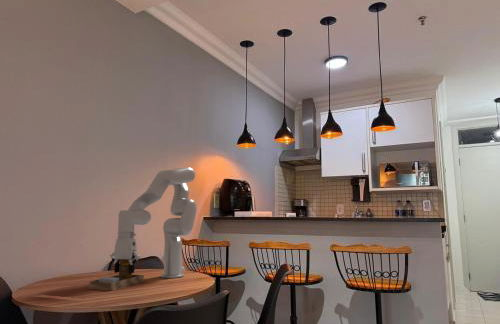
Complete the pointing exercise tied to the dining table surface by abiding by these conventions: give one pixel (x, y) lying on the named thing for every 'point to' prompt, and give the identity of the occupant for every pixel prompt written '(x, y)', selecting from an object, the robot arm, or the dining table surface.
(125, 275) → the condiment
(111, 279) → the painted block
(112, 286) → the caddy
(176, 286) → the dining table surface
